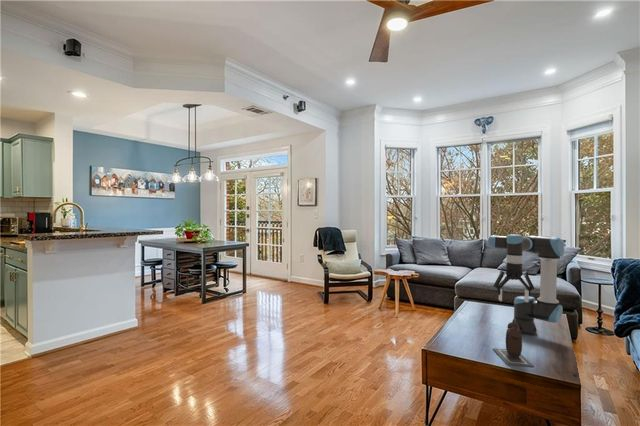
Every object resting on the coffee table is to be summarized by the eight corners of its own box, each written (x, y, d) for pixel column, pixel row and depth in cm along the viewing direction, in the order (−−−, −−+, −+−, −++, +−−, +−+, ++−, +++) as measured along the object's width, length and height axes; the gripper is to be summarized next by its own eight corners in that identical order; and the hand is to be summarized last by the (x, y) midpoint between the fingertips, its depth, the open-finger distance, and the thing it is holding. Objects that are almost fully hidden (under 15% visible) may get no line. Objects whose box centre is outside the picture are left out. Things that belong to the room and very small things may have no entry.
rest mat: (516, 351, 192) (516, 349, 192) (533, 367, 173) (533, 365, 173) (492, 349, 194) (492, 348, 194) (507, 365, 174) (507, 363, 174)
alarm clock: (504, 350, 191) (505, 315, 191) (518, 352, 188) (519, 317, 188) (506, 360, 178) (507, 322, 178) (522, 363, 175) (523, 325, 175)
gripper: (535, 262, 186) (534, 300, 187) (487, 260, 190) (486, 298, 190) (542, 264, 179) (541, 304, 179) (492, 262, 182) (492, 301, 182)
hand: (513, 301), depth 185 cm, fingers open, 13 cm apart
